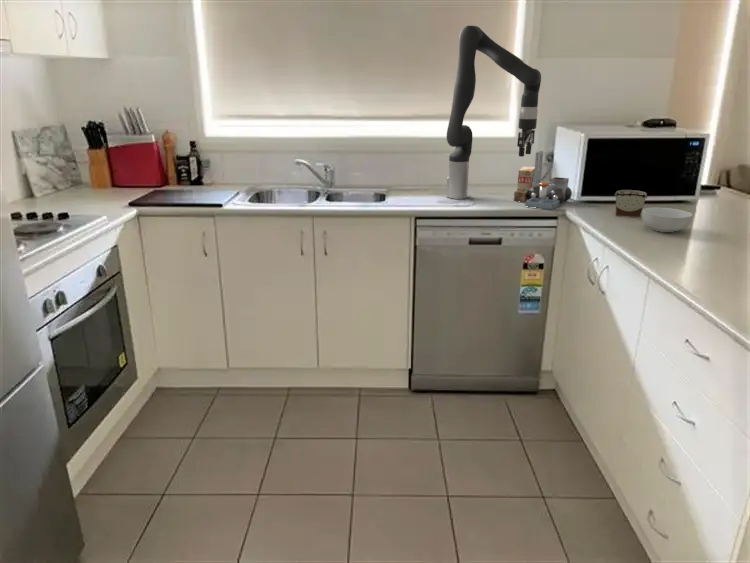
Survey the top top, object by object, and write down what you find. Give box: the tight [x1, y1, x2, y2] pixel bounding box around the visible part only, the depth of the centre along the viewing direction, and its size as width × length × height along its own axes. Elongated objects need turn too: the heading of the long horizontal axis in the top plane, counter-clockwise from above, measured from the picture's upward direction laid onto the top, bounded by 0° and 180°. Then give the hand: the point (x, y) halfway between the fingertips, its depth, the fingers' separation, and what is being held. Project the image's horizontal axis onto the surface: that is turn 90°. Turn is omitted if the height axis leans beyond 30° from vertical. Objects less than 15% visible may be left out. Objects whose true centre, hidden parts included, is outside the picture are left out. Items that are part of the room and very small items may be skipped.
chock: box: [513, 190, 528, 203], centre depth 267 cm, size 5×4×4 cm
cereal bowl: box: [641, 206, 693, 233], centre depth 215 cm, size 17×17×7 cm
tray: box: [524, 198, 561, 211], centre depth 255 cm, size 12×9×3 cm
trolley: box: [526, 150, 573, 206], centre depth 261 cm, size 17×12×22 cm
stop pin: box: [539, 182, 549, 203], centre depth 254 cm, size 4×4×10 cm
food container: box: [613, 189, 648, 218], centre depth 238 cm, size 12×6×10 cm, turn 71°
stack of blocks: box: [516, 165, 538, 191], centre depth 287 cm, size 21×6×12 cm, turn 155°
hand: (524, 155), depth 258 cm, fingers open, 8 cm apart
